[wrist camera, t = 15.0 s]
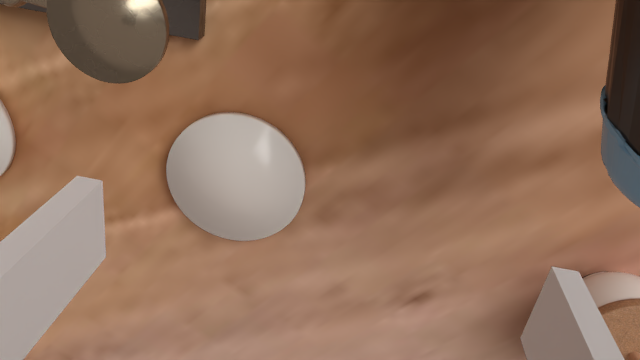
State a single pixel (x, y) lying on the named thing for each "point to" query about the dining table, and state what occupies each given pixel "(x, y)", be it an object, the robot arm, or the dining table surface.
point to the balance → (118, 32)
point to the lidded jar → (619, 308)
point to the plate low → (6, 139)
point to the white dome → (236, 176)
